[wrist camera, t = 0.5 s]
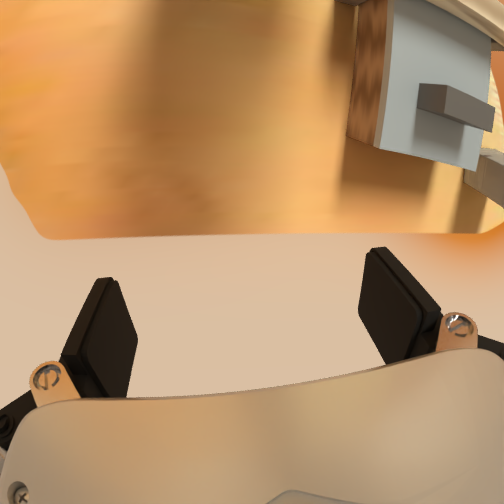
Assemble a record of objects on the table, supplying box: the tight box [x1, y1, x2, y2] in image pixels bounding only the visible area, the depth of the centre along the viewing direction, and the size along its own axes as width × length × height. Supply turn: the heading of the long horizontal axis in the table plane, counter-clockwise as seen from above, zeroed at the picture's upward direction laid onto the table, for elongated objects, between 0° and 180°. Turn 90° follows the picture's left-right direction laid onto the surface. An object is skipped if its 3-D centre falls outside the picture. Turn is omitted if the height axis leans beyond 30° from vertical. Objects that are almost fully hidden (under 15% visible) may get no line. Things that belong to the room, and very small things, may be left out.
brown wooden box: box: [335, 0, 504, 146], centre depth 29 cm, size 26×23×10 cm
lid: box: [373, 0, 495, 172], centre depth 24 cm, size 26×16×8 cm, turn 175°
